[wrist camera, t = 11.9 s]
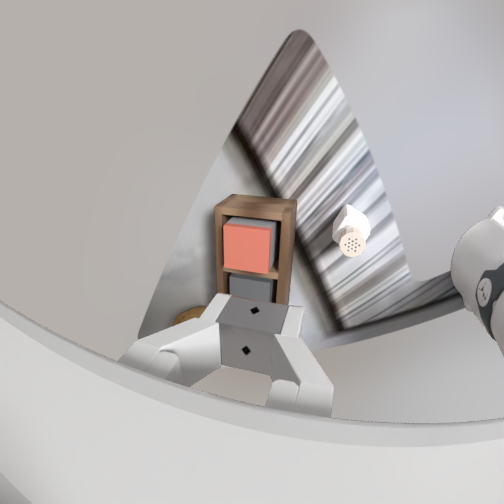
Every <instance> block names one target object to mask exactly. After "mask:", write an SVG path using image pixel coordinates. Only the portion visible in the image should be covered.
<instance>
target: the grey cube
mask: <svg viewBox="0 0 504 504" xmlns="http://www.w3.org/2000/svg"><path fill="white" fill-rule="evenodd" d="M277 281H278V279H271V278H264V277H258V276H252V275H245V274H239V273H233V272H232V274H231V275H230V295H232V296H233V295H234V296H239V297H244V298H249V299H254V300H259V301H263V302H270V303H274V301H275V299H276V295H277Z"/></svg>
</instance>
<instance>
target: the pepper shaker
mask: <svg viewBox="0 0 504 504" xmlns="http://www.w3.org/2000/svg"><path fill="white" fill-rule="evenodd" d="M369 234H370V227H369V223H368V220H367V217H366V216H365V215H364V214H362V213H361V212H359V211H358V210H356V209H355V208H353V207H352V206H350V205H347V204H346V205H345V206H343V208H342V209H341V211H340V212H339V214H338V216H337V217H336V219H335V220H334V222H333V231H332V238H333V240H334V241H335V242H337V243H338V244H339V247H340V251H341V252H342V253H343V254H344V255H346V256H349V257H356V256H359V255H360V254H361V253H362V252H363V251H364V249H365V246H366V245H365V241H366V239H367V238H368V236H369Z"/></svg>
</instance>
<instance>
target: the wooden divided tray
mask: <svg viewBox="0 0 504 504" xmlns="http://www.w3.org/2000/svg"><path fill="white" fill-rule="evenodd" d="M296 211H297V200H290V199H280V198H270V197H260V196H249V195H237V194H232V195H230V196H229V197H227V198H226V199H224V200H223V201H222V202H220V203H219V204H217V205H216V206H215V242H216V270H217V293H224V294H229V295H230V275H231V274H232V272H233V273H239V274H245V275H252V276H258V277H264V278H271V279H278V281H277V295H276V299H275V301H274V303H276V304H283V305H288V302H289V292H290V282H291V272H292V261H293V249H294V237H295V225H296ZM233 216H243V217H253V218H262V219H271V220H279V232H278V249H277V256H276V258H275V261H274V263H273V265H272V267H271V269H270V271H269V273H268V274H263V273H256V272H249V271H243V270H237V269H230V268H224V231H223V225H224V224H225V223H227V222H228V221H229V220H230V219H231V218H232V217H233Z"/></svg>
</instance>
